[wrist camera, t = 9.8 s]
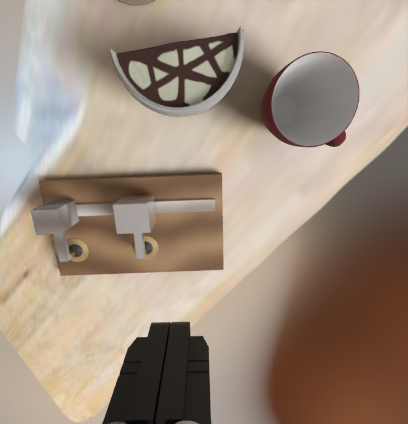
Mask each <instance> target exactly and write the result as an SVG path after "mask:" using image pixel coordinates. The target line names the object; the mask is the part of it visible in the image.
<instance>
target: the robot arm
mask: <svg viewBox="0 0 408 424" xmlns="http://www.w3.org/2000/svg"><path fill="white" fill-rule="evenodd" d="M120 1H121V2H124V3H127V4H130V5H144V4H148V3H150V2H153V1H155V0H120ZM210 412H211V411H210V378H209V347H208V345H207V343H206V341H205V340H204V338H203V336H190V322H171V323H170V322H161V323H151V326H150V330H149V333H148V337H137V338H136V339H135V341H134V342H133V343H132V344H131V345H130V347H129V348H128V350H127V353H126V356H125V359H124V363H123V365H122V368H121V371H120V375H119V377H118V379H117V382H116V385H115V388H114V391H113V394H112V397H111V400H110V403H109V406H108V409H107V412H106V415H105V418H104V421H103V423H102V424H211V413H210Z"/></svg>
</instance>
